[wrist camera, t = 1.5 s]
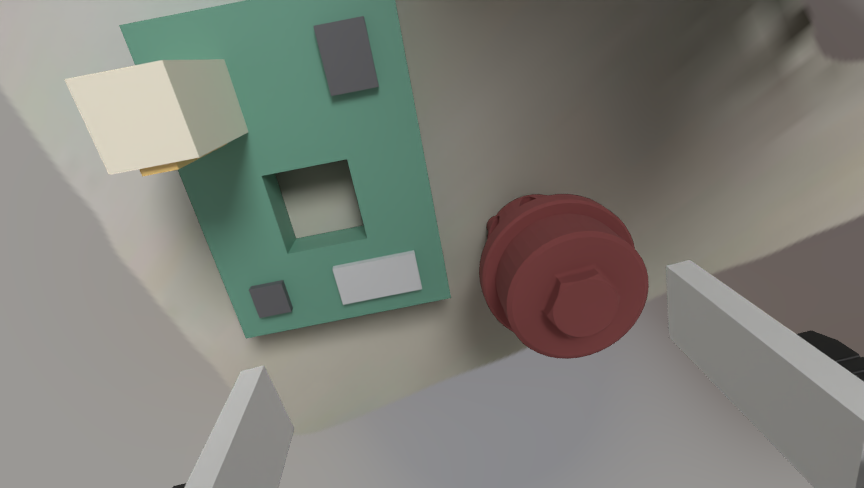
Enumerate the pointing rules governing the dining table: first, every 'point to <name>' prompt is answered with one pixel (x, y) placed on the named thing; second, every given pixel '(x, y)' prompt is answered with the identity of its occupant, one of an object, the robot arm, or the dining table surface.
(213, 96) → the plug
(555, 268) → the mechanical component
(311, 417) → the dining table surface
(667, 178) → the dining table surface
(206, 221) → the board
